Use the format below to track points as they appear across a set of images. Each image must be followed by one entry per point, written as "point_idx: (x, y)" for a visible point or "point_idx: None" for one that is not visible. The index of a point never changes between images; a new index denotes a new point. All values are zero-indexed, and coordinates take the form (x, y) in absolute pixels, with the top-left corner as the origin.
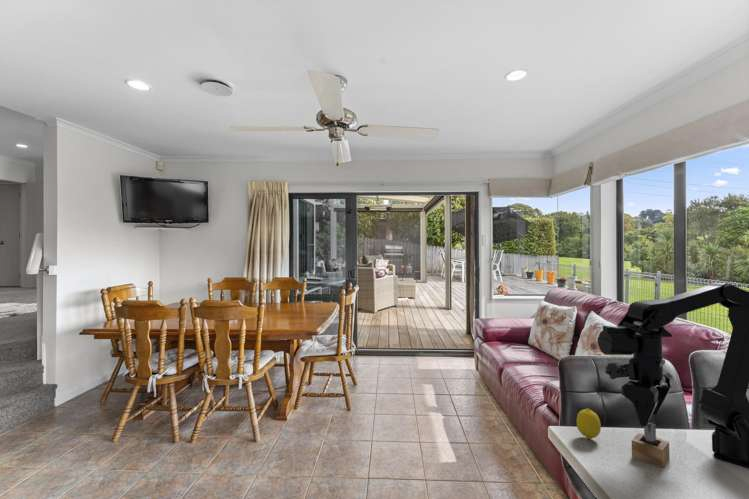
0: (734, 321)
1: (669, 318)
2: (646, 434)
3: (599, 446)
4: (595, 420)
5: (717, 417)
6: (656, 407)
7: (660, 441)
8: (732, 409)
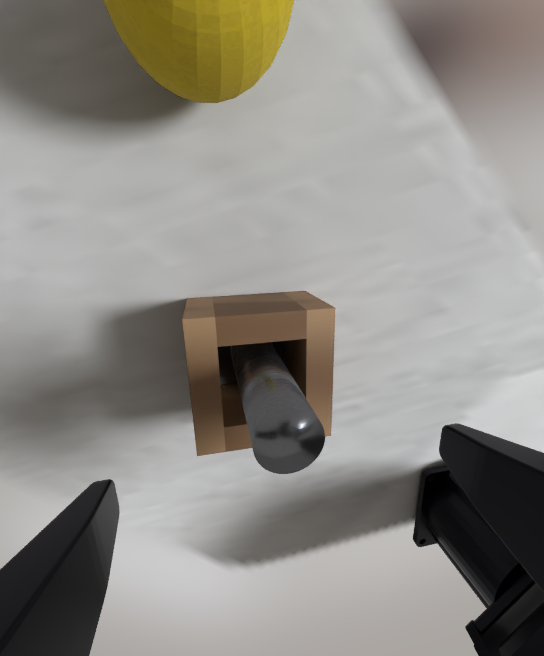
0: None
1: None
2: (246, 394)
3: (160, 140)
4: (158, 25)
5: None
6: (494, 506)
7: None
8: None
